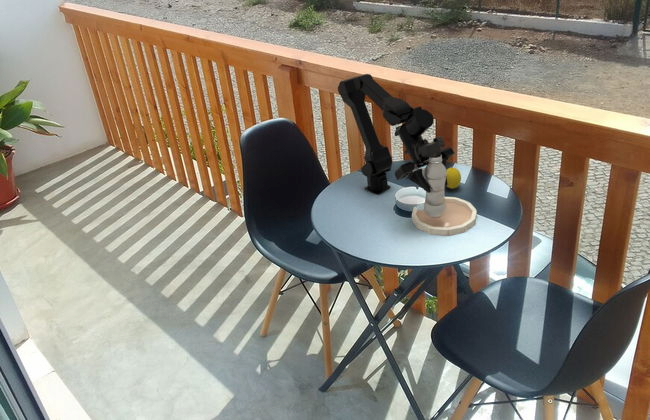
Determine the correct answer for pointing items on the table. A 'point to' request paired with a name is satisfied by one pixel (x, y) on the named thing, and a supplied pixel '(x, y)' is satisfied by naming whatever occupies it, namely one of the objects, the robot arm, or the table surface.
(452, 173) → the lemon
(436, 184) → the plastic bottle
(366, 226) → the table surface
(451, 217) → the round tray
